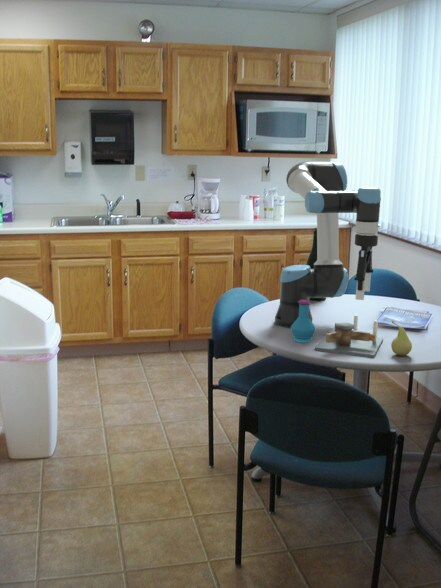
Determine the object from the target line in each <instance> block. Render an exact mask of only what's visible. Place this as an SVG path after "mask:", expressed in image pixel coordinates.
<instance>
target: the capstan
mask: <svg viewBox="0 0 441 588" xmlns="http://www.w3.org/2000/svg"><path fill="white" fill-rule="evenodd" d="M353 329H354V323H351V322H335V323H334V331H330V332H331V333H327V332H326V333H327V334H326V333H325V334H326V342H327V343H330V342H334V341H337V344H339V345H350V344H351V339H353V340H361V341H370V340H372V341H373V340H375V335H374V334H373V333H371V332H370V331H361V330H357V331H355V330H353Z"/></svg>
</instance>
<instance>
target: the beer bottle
mask: <svg viewBox="0 0 441 588" xmlns="http://www.w3.org/2000/svg"><path fill="white" fill-rule="evenodd" d="M312 235H313V236H312V245H311V248H310V252H309V254H308V256H307V259H306V263H305V265H308V266H310V268H311V269H314V263H315V262H316V261H317V227H314V230H313V233H312ZM324 300H326V298H309V301H324Z"/></svg>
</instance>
